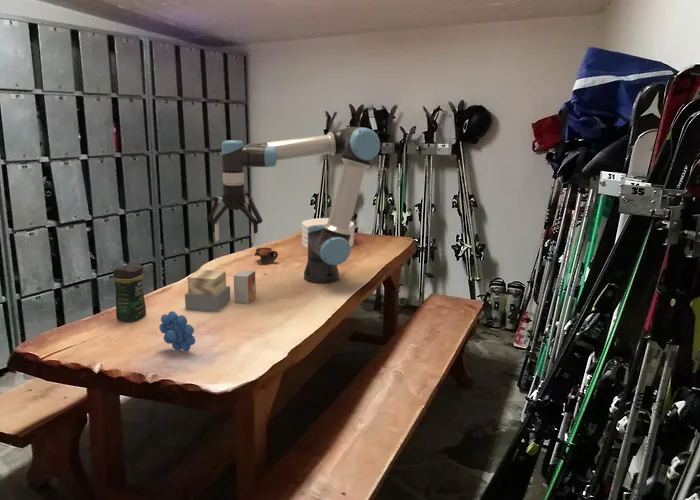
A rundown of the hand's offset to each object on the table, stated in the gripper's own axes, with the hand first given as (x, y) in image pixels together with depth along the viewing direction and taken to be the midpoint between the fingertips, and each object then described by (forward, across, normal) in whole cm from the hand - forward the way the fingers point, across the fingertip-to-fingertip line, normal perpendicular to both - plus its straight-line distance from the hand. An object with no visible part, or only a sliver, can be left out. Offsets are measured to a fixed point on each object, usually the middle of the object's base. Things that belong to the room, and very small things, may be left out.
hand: (235, 241), depth 200 cm
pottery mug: (+22, 0, -49) cm, 53 cm away
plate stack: (+22, -24, -90) cm, 96 cm away
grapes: (+22, +4, +50) cm, 55 cm away
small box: (+22, -4, +3) cm, 22 cm away
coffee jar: (+22, +29, +26) cm, 44 cm away
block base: (+22, +8, +10) cm, 25 cm away
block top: (+16, +8, +11) cm, 21 cm away
